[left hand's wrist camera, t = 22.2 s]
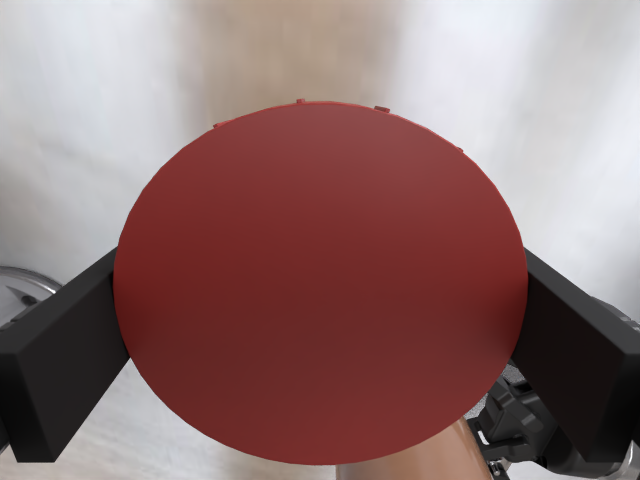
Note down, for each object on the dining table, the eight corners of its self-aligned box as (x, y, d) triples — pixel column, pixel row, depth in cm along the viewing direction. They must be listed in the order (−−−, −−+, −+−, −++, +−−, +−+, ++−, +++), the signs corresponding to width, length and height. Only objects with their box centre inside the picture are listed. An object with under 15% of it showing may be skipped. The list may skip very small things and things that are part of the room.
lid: (310, 452, 15) (308, 514, 13) (79, 268, 12) (24, 307, 10) (554, 290, 12) (606, 334, 10) (334, 3, 9) (338, -25, 7)
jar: (401, 290, 35) (492, 501, 17) (445, 364, 38) (562, 609, 20) (311, 337, 37) (305, 572, 19) (359, 404, 40) (395, 661, 22)
